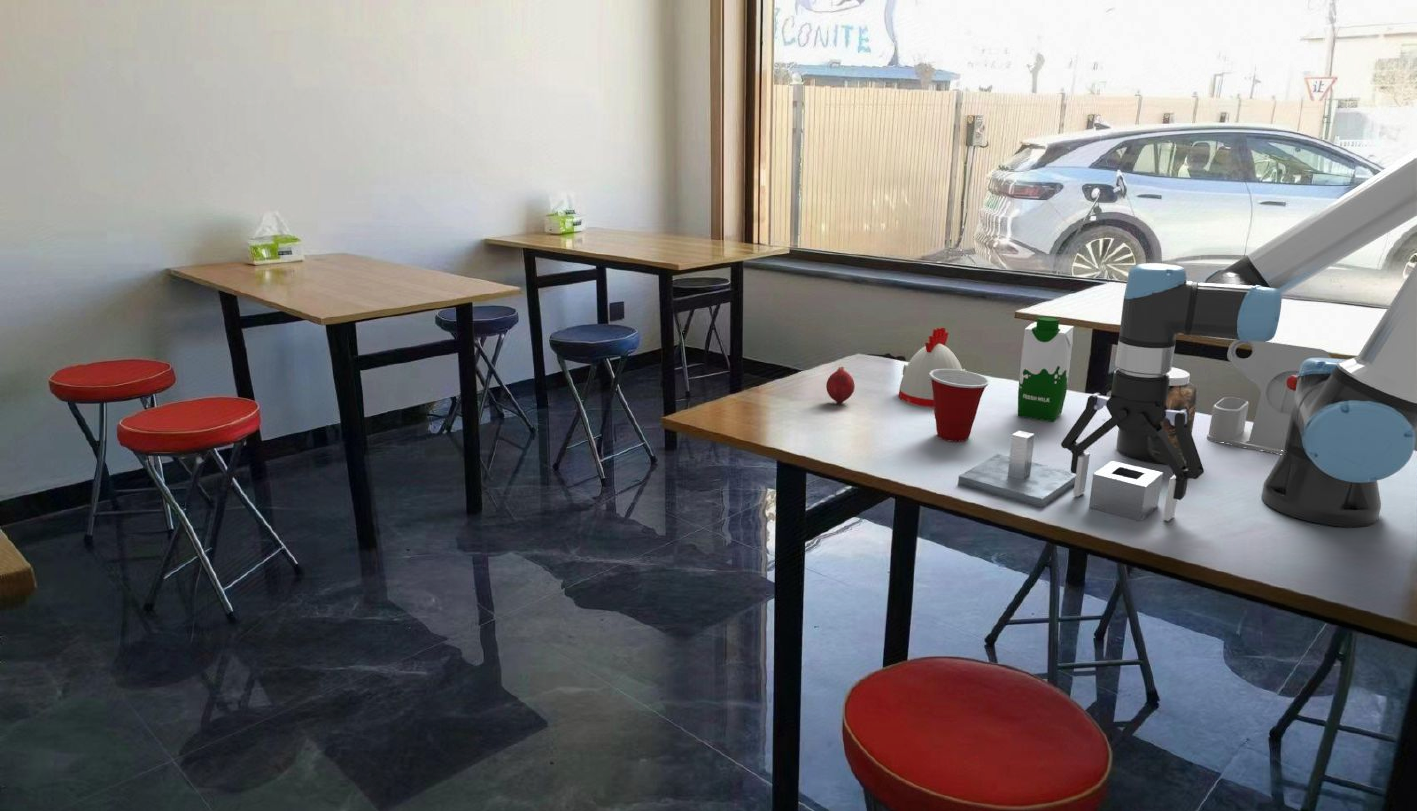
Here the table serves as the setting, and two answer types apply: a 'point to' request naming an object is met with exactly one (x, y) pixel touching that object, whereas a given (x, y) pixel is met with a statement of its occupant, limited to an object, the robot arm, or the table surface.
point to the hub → (1125, 490)
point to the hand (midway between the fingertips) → (1122, 505)
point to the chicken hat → (926, 369)
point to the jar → (1177, 399)
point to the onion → (840, 385)
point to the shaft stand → (1019, 475)
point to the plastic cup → (956, 401)
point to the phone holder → (1276, 400)
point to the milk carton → (1044, 369)
